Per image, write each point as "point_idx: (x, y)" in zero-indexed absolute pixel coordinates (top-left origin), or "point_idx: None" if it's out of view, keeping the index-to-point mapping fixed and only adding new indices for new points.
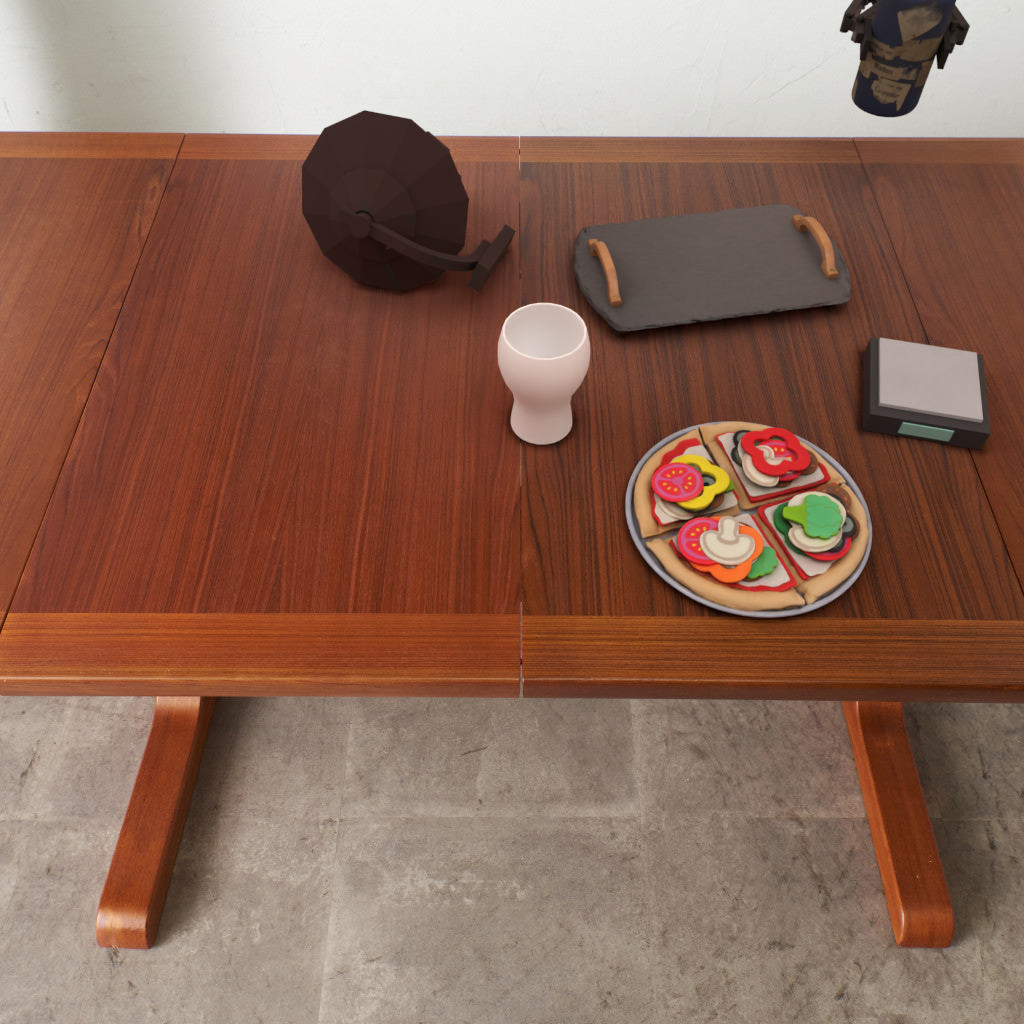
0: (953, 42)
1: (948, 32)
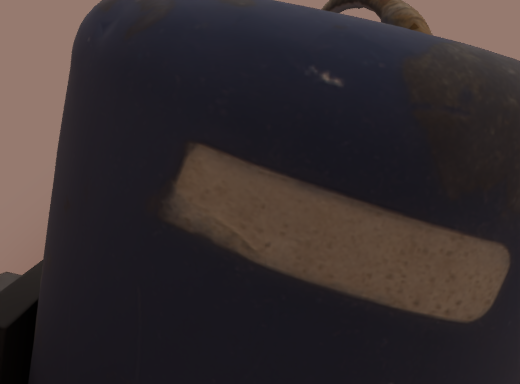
0: (10, 276)
1: (21, 279)
